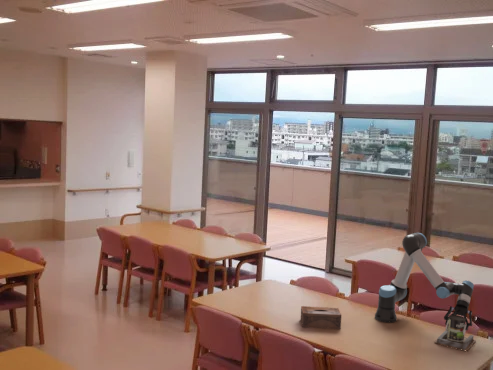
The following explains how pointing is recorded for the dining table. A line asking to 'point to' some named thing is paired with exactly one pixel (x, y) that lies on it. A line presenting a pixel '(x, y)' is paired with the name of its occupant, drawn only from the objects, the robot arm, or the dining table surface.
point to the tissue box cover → (320, 317)
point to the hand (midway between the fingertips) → (454, 331)
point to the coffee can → (456, 328)
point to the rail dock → (459, 345)
